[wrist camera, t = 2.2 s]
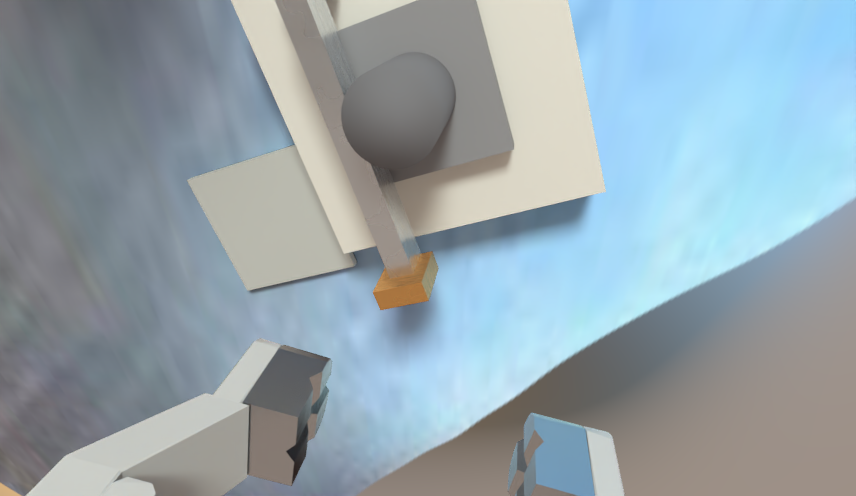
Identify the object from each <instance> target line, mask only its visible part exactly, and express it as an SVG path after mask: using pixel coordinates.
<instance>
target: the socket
mask: <svg viewBox="0 0 856 496" xmlns="http://www.w3.org/2000/svg"><path fill="white" fill-rule="evenodd" d="M231 1H232V4H233V6H234V8H235V10H236V13H237V15H238V17H239V19H240V22H241V24H242V26H243V28H244V31H245V33H246V35H247V37H248V40H249V42H250V44H251V46H252V49H253V51H254V53H255V55H256V58H257V60H258V62H259V64H260V67H261V69H262V71H263V73H264V76H265V78H266V80H267V82H268V84H269V87H270V89H271V91H272V93H273V96H274V98H275V100H276V102H277V105H278V107H279V109H280V111H281V114H282V116H283V118H284V120H285V123H286V125H287V127H288V129H289V132H290V134H291V136H292V138H293V141H294V143H295V145H296V147H297V150H298V152H299V154H300V156H301V159H302V161H303V163H304V165H305V168H306V170H307V172H308V174H309V176H310V179H311V181H312V183H313V185H314V188H315V190H316V192H317V194H318V197H319V199H320V201H321V203H322V206H323V208H324V210H325V212H326V215H327V217H328V219H329V221H330V224H331V226H332V228H333V230H334V233H335V235H336V237H337V239H338V242H339V244H340V246H341V248H342V251H343V253H344V254H345V253H350V252H354V251H358V250H362V249H366V248H371V247H375V246H376V244H375V241H374V239H373V237H372V234H371V232H370V229H369V227H368V225H367V222H366V220H365V217H364V215H363V212H362V210H361V208H360V205H359V203H358V200H357V198H356V196H355V193H354V191H353V188H352V186H351V183H350V181H349V179H348V176H347V174H346V171H345V169H344V166H343V164H342V162H341V159H340V157H339V154H338V152H337V150H336V147H335V145H334V142H333V140H332V137H331V135H330V133H329V130H328V128H327V125H326V123H325V121H324V118H323V116H322V113H321V111H320V108H319V106H318V104H317V101H316V99H315V96H314V94H313V92H312V89H311V87H310V84H309V82H308V79H307V77H306V75H305V72H304V70H303V67H302V65H301V62H300V60H299V58H298V55H297V53H296V50H295V48H294V46H293V43H292V41H291V38H290V36H289V33H288V31H287V29H286V26H285V24H284V21H283V19H282V17H281V14H280V12H279V9H278V7H277V4H276V2H275V0H231ZM414 1H417V0H327V1H326V2H327V5H328V8H329V10H330V13H331V16H332V18H333V21H334V23H335V26H336V29H337V31H339V30H341V29H344V28H346V27H349V26H352V25H354V24H357V23H359V22H362V21H365V20H367V19H370V18H372V17H375V16H378V15H380V14H383V13H385V12H388V11H391V10H393V9H396V8H398V7H401V6H404V5H406V4H409V3H411V2H414ZM476 1H477V5H478V9H479V12H480V16H481V20H482V24H483V27H484V31H485V35H486V39H487V42H488V46H489V50H490V54H491V58H492V61H493V65H494V69H495V73H496V76H497V80H498V84H499V88H500V91H501V95H502V99H503V103H504V107H505V110H506V114H507V118H508V122H509V125H510V129H511V133H512V137H513V140H514V150H511V151H507V152H504V153H500V154H496V155H493V156H489V157H485V158H482V159H478V160H474V161H471V162H467V163H464V164H460V165H456V166H453V167H449V168H445V169H442V170H438V171H434V172H431V173H427V174H423V175H420V176H416V177H413V178H409V179H405V180H402V181H398V182H394V183H395V186H396V188H397V191H398V194H399V196H400V199H401V202H402V204H403V207H404V210H405V212H406V215H407V218H408V220H409V223H410V226H411V228H412V231H413V234H414V236H415V237H417V236H421V235H425V234H430V233H434V232H438V231H442V230H446V229H451V228H455V227H459V226H463V225H467V224H472V223H476V222H480V221H484V220H488V219H493V218H497V217H501V216H505V215H510V214H514V213H518V212H522V211H526V210H531V209H535V208H539V207H543V206H547V205H552V204H556V203H560V202H564V201H568V200H573V199H577V198H581V197H585V196H589V195H594V194H598V193H602V192H606V190H605V185H604V180H603V175H602V170H601V165H600V160H599V155H598V150H597V145H596V140H595V135H594V130H593V125H592V120H591V115H590V110H589V105H588V100H587V94H586V89H585V84H584V79H583V74H582V69H581V64H580V59H579V54H578V49H577V44H576V39H575V34H574V29H573V24H572V19H571V14H570V9H569V4H568V0H476Z"/></svg>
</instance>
